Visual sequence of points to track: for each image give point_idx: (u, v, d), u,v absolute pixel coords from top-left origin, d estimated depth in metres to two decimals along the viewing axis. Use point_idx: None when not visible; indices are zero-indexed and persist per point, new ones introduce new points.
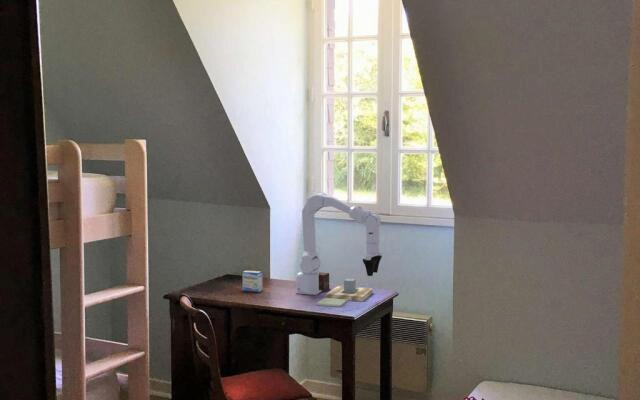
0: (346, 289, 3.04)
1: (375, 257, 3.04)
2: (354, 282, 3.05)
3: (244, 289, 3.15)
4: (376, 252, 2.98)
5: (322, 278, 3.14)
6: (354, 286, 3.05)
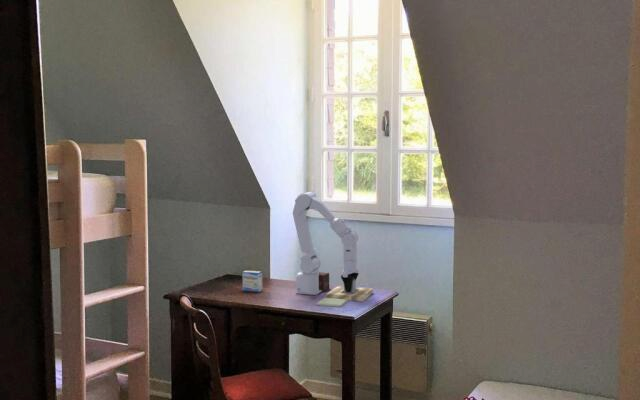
0: None
1: (352, 274, 3.07)
2: (354, 282, 3.05)
3: (244, 289, 3.15)
4: (353, 269, 3.02)
5: (322, 278, 3.14)
6: (354, 286, 3.05)
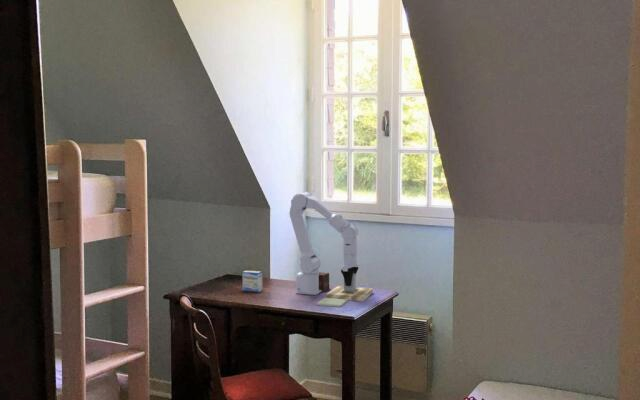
0: None
1: (352, 269, 3.07)
2: (354, 276, 3.04)
3: (244, 289, 3.15)
4: (353, 263, 3.02)
5: (322, 278, 3.14)
6: (354, 280, 3.05)
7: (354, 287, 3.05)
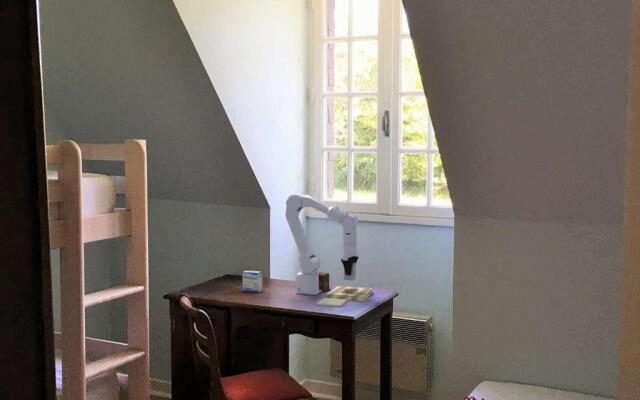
0: None
1: (352, 258, 3.06)
2: (354, 265, 3.04)
3: (244, 289, 3.15)
4: (353, 252, 3.01)
5: (322, 278, 3.14)
6: (354, 269, 3.04)
7: (354, 276, 3.05)
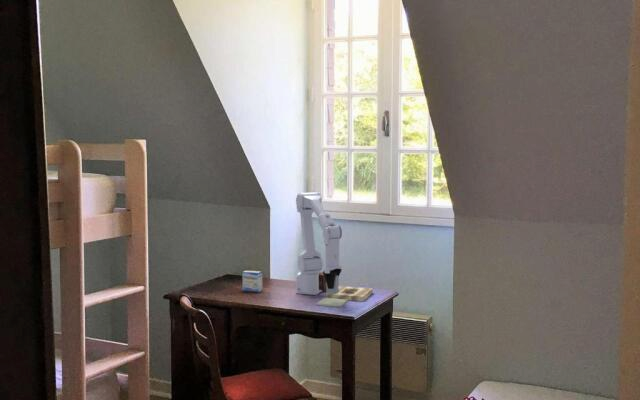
0: None
1: (334, 270, 2.93)
2: (337, 278, 2.91)
3: (244, 289, 3.15)
4: (336, 265, 2.89)
5: (322, 278, 3.14)
6: (337, 282, 2.91)
7: (337, 290, 2.92)
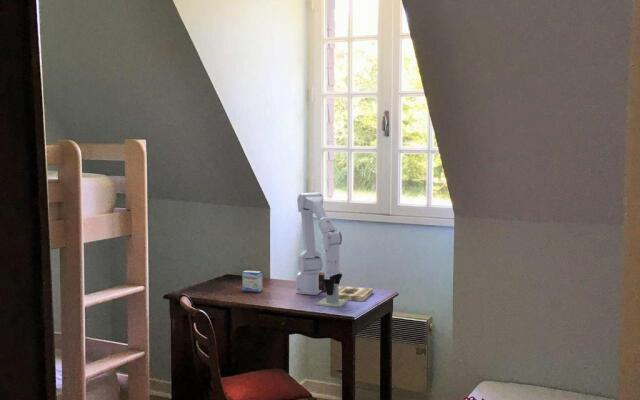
0: None
1: (335, 276, 2.94)
2: (337, 287, 2.91)
3: (244, 289, 3.15)
4: (336, 271, 2.89)
5: None
6: (337, 291, 2.92)
7: (337, 298, 2.92)
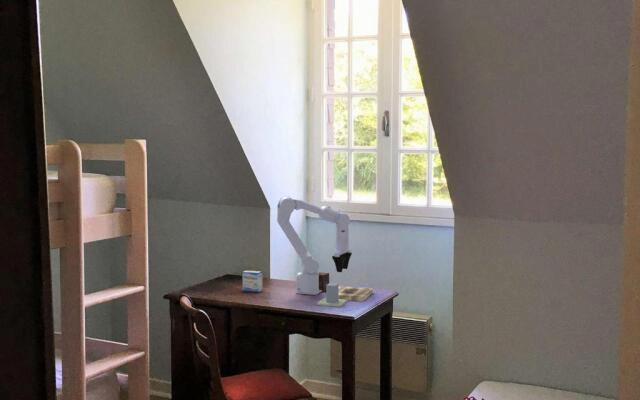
0: (329, 294, 2.90)
1: (345, 254, 3.16)
2: (337, 287, 2.91)
3: (244, 289, 3.15)
4: (345, 249, 3.10)
5: (322, 278, 3.14)
6: (337, 291, 2.92)
7: (337, 298, 2.92)
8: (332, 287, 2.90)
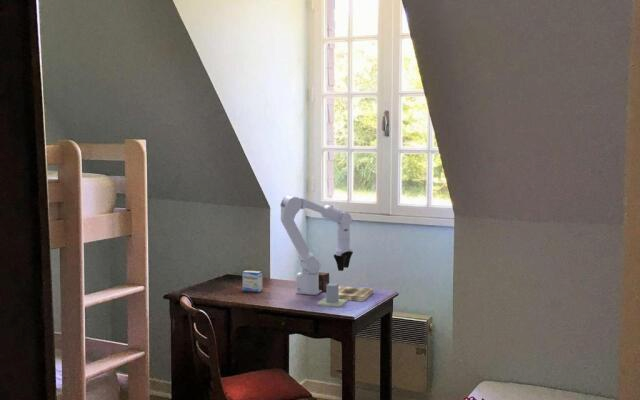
0: (329, 294, 2.90)
1: (346, 253, 3.19)
2: (337, 287, 2.91)
3: (244, 289, 3.15)
4: (347, 248, 3.13)
5: (322, 278, 3.14)
6: (337, 291, 2.92)
7: (337, 298, 2.92)
8: (332, 287, 2.90)
